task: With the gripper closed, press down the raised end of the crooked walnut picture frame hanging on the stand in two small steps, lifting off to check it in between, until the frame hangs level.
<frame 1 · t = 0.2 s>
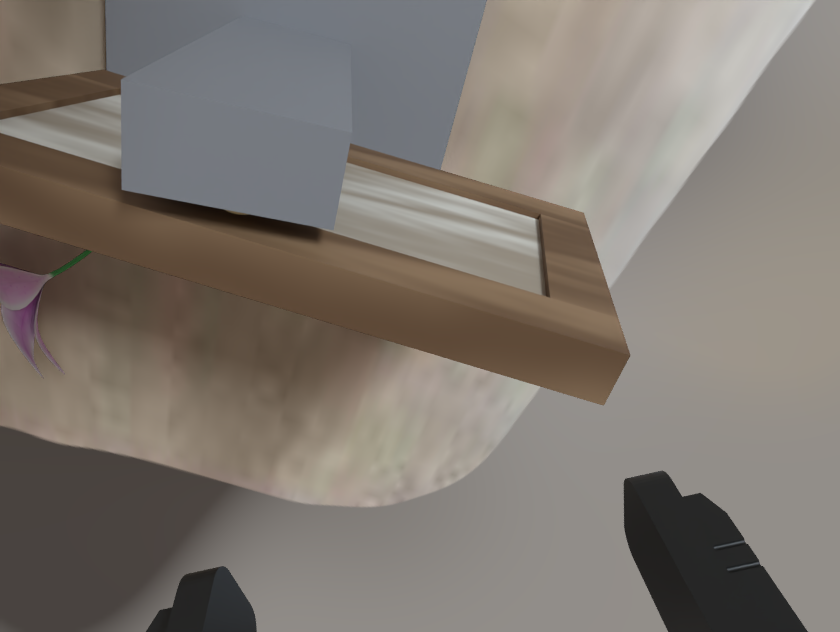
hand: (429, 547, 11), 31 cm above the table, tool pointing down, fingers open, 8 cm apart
picture frame: (294, 197, 24), point 14 cm above the table, hinge at 15.0°
display stand: (293, 72, 35), on the table
lily: (41, 260, 40), on the table
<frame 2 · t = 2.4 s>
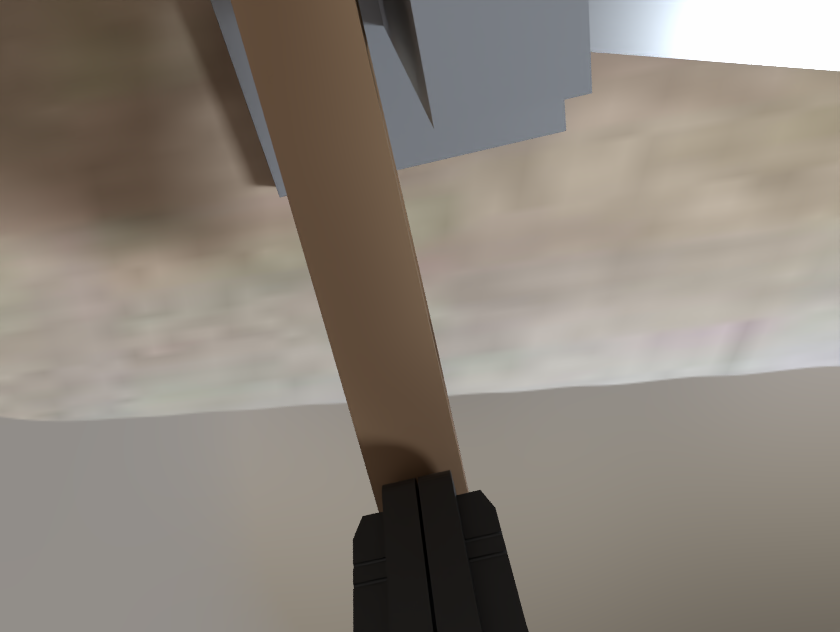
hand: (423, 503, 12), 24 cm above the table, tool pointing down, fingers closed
picture frame: (325, 25, 16), point 14 cm above the table, hinge at 14.5°, touching gripper
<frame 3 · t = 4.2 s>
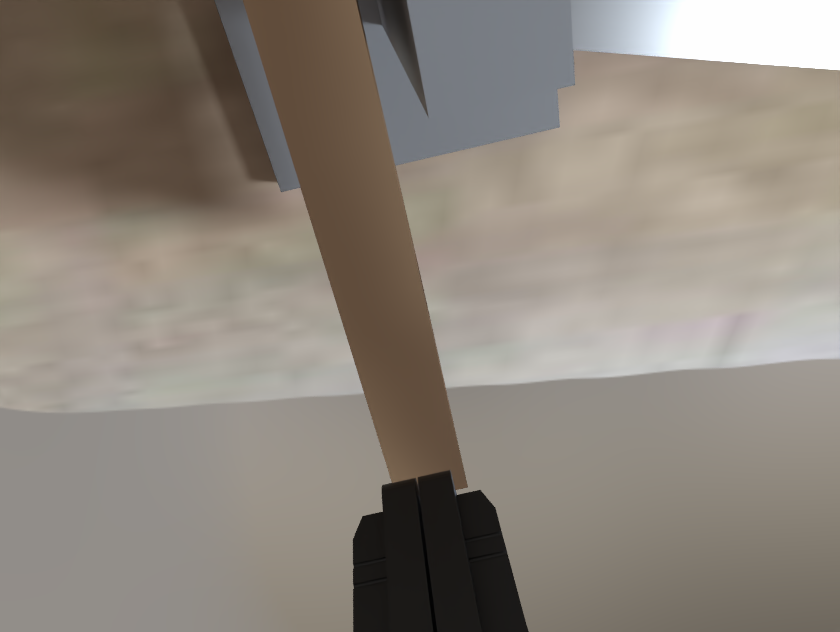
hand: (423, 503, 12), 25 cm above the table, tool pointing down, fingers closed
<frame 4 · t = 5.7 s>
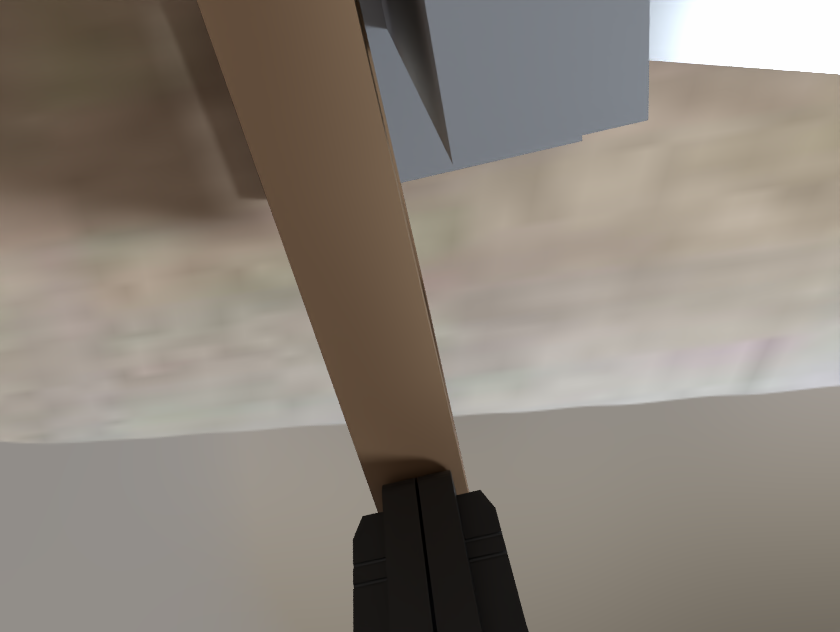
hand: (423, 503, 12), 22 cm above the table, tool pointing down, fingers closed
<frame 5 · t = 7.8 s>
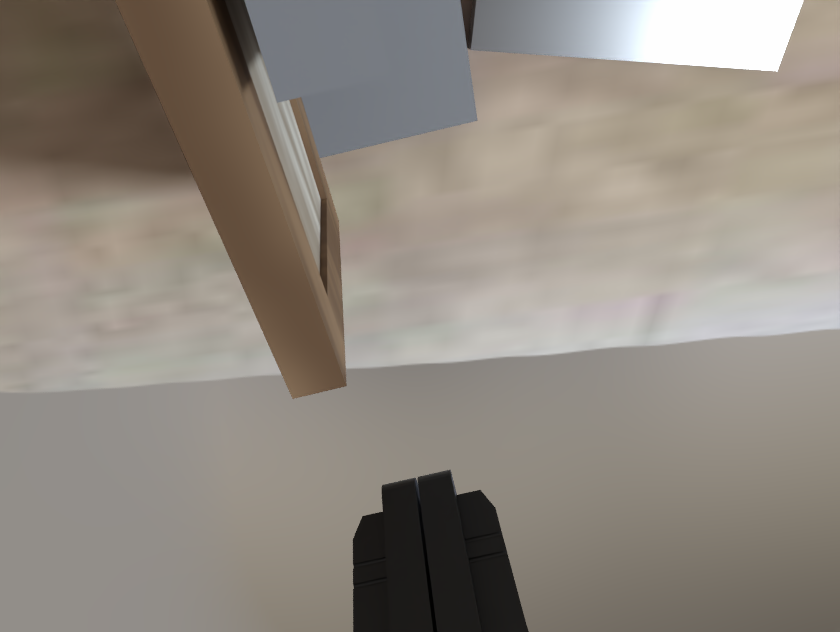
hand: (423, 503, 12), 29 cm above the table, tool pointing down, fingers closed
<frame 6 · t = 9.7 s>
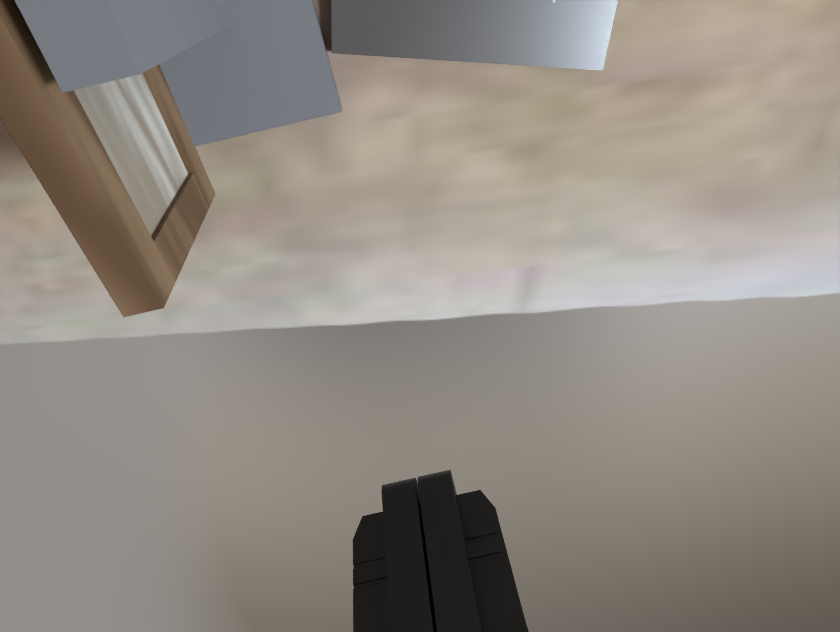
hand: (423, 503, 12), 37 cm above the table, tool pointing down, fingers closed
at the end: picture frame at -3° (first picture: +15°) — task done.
